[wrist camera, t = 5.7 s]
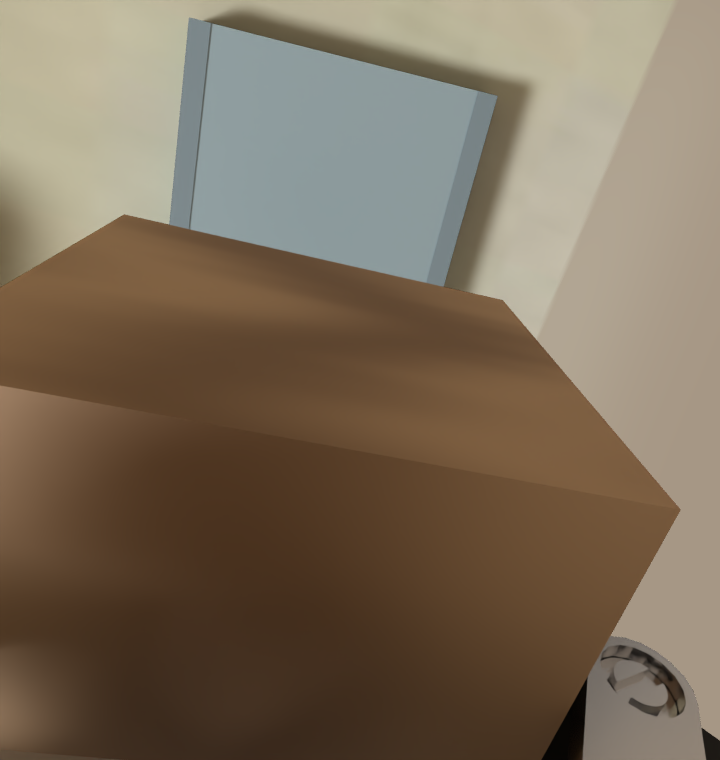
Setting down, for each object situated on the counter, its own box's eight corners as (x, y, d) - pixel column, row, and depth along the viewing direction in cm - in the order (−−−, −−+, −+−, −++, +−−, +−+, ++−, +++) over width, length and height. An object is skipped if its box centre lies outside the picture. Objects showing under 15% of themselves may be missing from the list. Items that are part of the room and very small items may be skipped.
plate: (415, 357, 30) (419, 370, 29) (168, 310, 29) (160, 321, 27) (488, 96, 25) (497, 95, 24) (197, 22, 24) (189, 17, 22)
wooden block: (503, 299, 11) (680, 509, 5) (387, 628, 14) (425, 967, 9) (124, 214, 10) (-127, 363, 4) (94, 586, 13) (-73, 937, 8)
